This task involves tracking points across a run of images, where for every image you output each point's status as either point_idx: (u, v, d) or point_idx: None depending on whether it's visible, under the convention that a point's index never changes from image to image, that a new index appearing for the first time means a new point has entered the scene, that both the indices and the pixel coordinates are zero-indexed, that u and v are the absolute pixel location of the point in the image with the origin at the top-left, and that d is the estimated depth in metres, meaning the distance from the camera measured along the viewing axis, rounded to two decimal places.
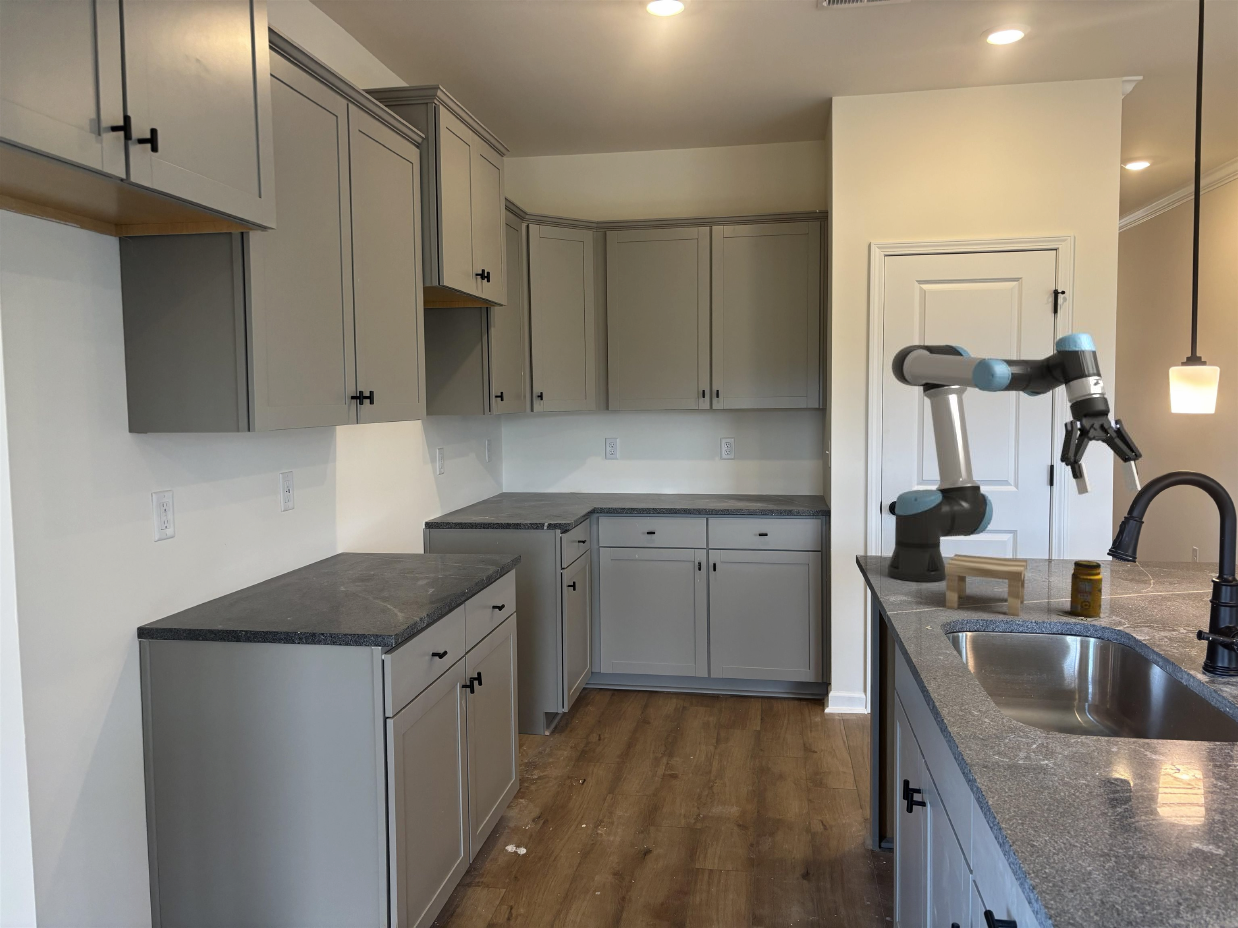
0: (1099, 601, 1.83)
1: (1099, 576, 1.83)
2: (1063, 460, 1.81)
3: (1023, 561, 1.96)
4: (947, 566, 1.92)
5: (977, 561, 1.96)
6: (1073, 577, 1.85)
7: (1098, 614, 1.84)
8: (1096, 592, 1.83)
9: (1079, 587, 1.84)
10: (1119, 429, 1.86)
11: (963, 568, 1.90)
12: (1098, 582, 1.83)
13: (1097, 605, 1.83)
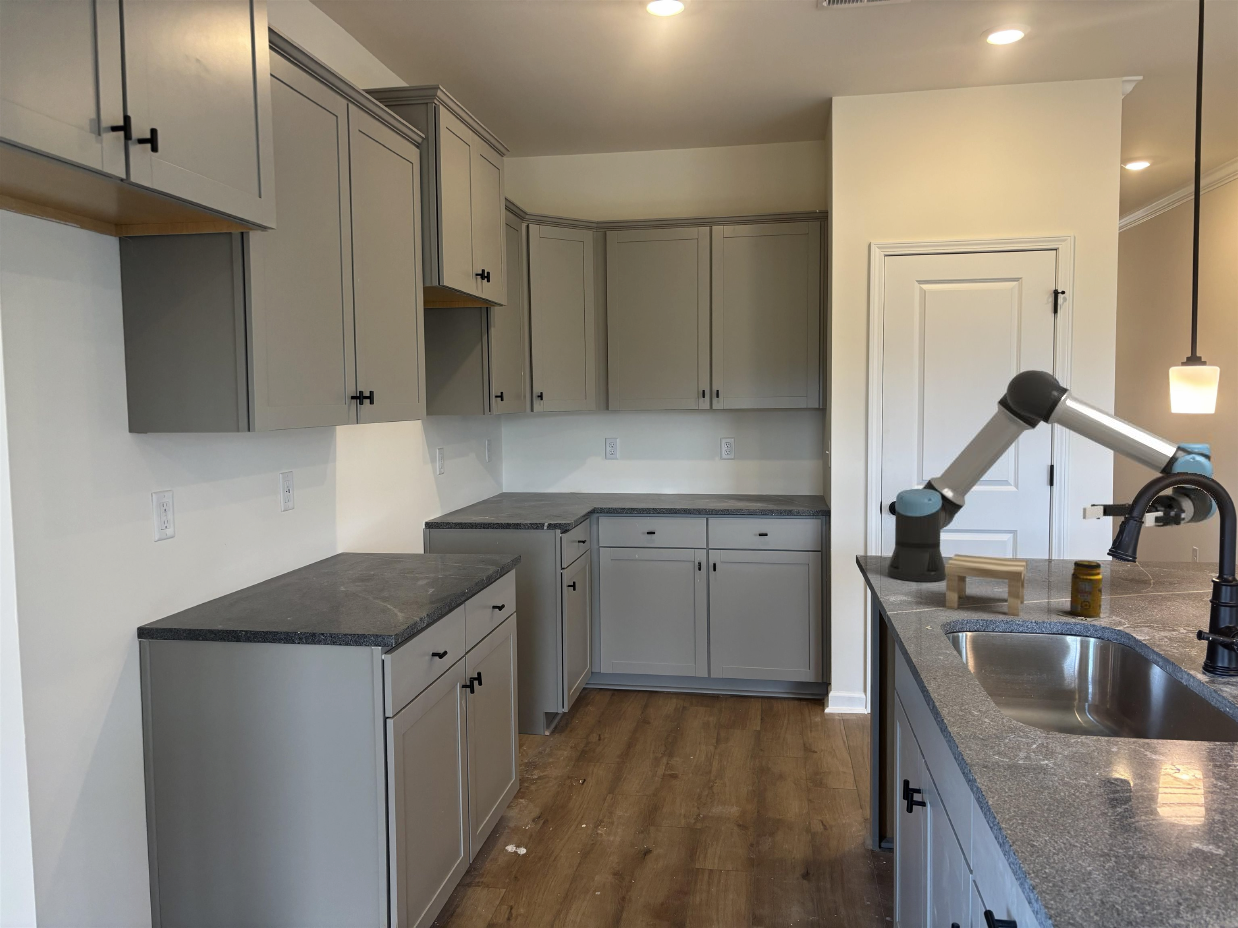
0: (1099, 601, 1.83)
1: (1099, 576, 1.83)
2: (1179, 517, 1.83)
3: (1023, 561, 1.96)
4: (947, 566, 1.92)
5: (977, 561, 1.96)
6: (1073, 577, 1.85)
7: (1098, 614, 1.84)
8: (1096, 592, 1.83)
9: (1079, 587, 1.84)
10: None
11: (963, 568, 1.90)
12: (1098, 582, 1.83)
13: (1097, 605, 1.83)
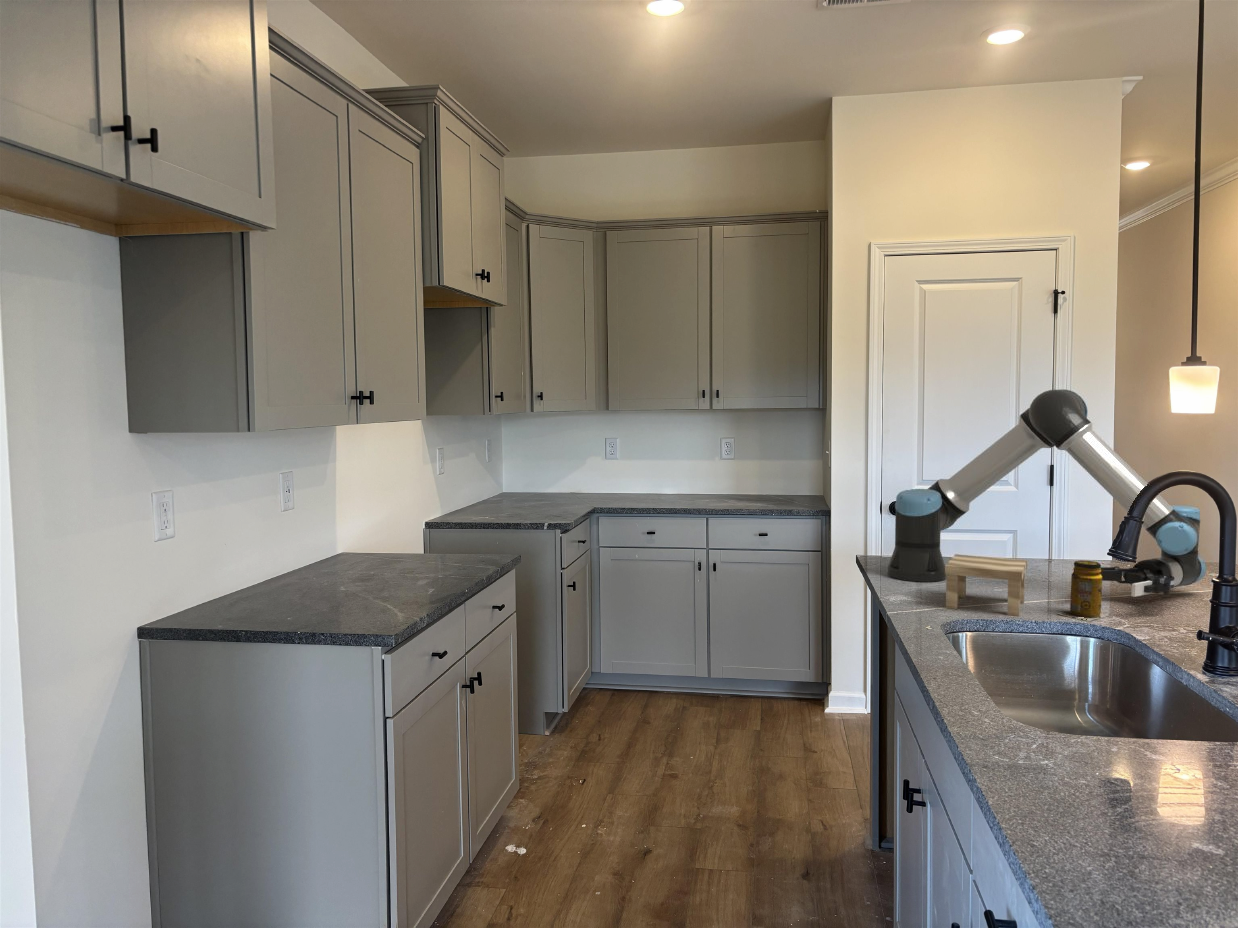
0: (1099, 601, 1.83)
1: (1099, 576, 1.83)
2: (1168, 587, 1.82)
3: (1023, 561, 1.96)
4: (947, 566, 1.92)
5: (977, 561, 1.96)
6: (1073, 577, 1.85)
7: (1098, 614, 1.84)
8: (1096, 592, 1.83)
9: (1079, 587, 1.84)
10: None
11: (963, 568, 1.90)
12: (1098, 582, 1.83)
13: (1097, 605, 1.83)
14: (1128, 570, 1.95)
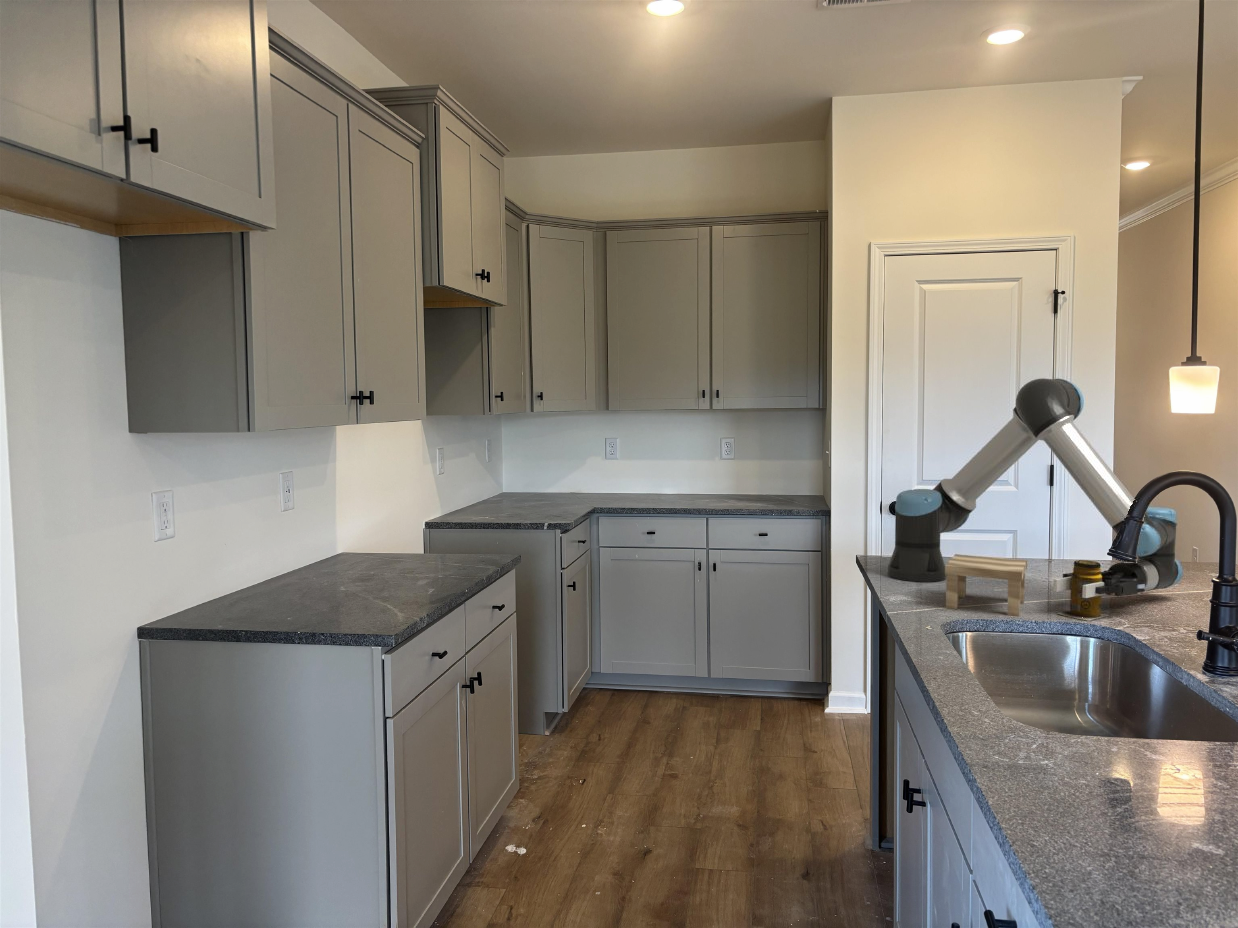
0: (1099, 601, 1.83)
1: (1099, 576, 1.83)
2: (1118, 588, 1.80)
3: (1023, 561, 1.96)
4: (947, 566, 1.92)
5: (977, 561, 1.96)
6: (1073, 577, 1.85)
7: (1098, 614, 1.84)
8: None
9: (1079, 587, 1.84)
10: None
11: (963, 568, 1.90)
12: None
13: (1097, 605, 1.83)
14: (1105, 574, 1.91)
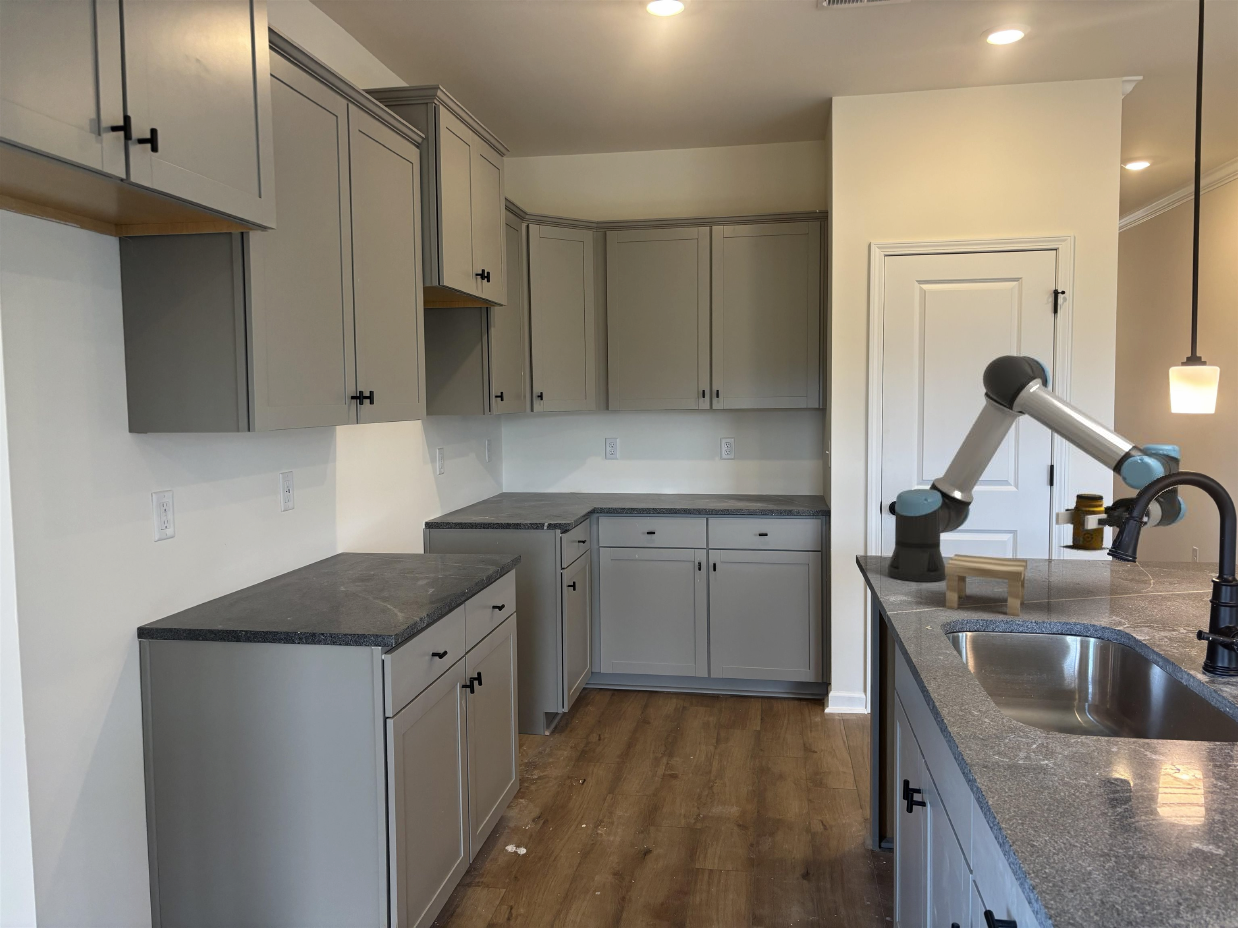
0: (1101, 533, 1.82)
1: (1101, 508, 1.82)
2: (1121, 520, 1.79)
3: (1023, 561, 1.96)
4: (947, 566, 1.92)
5: (977, 561, 1.96)
6: (1075, 510, 1.84)
7: (1100, 546, 1.82)
8: None
9: (1081, 520, 1.83)
10: None
11: (963, 568, 1.90)
12: None
13: (1099, 537, 1.82)
14: (1107, 508, 1.89)
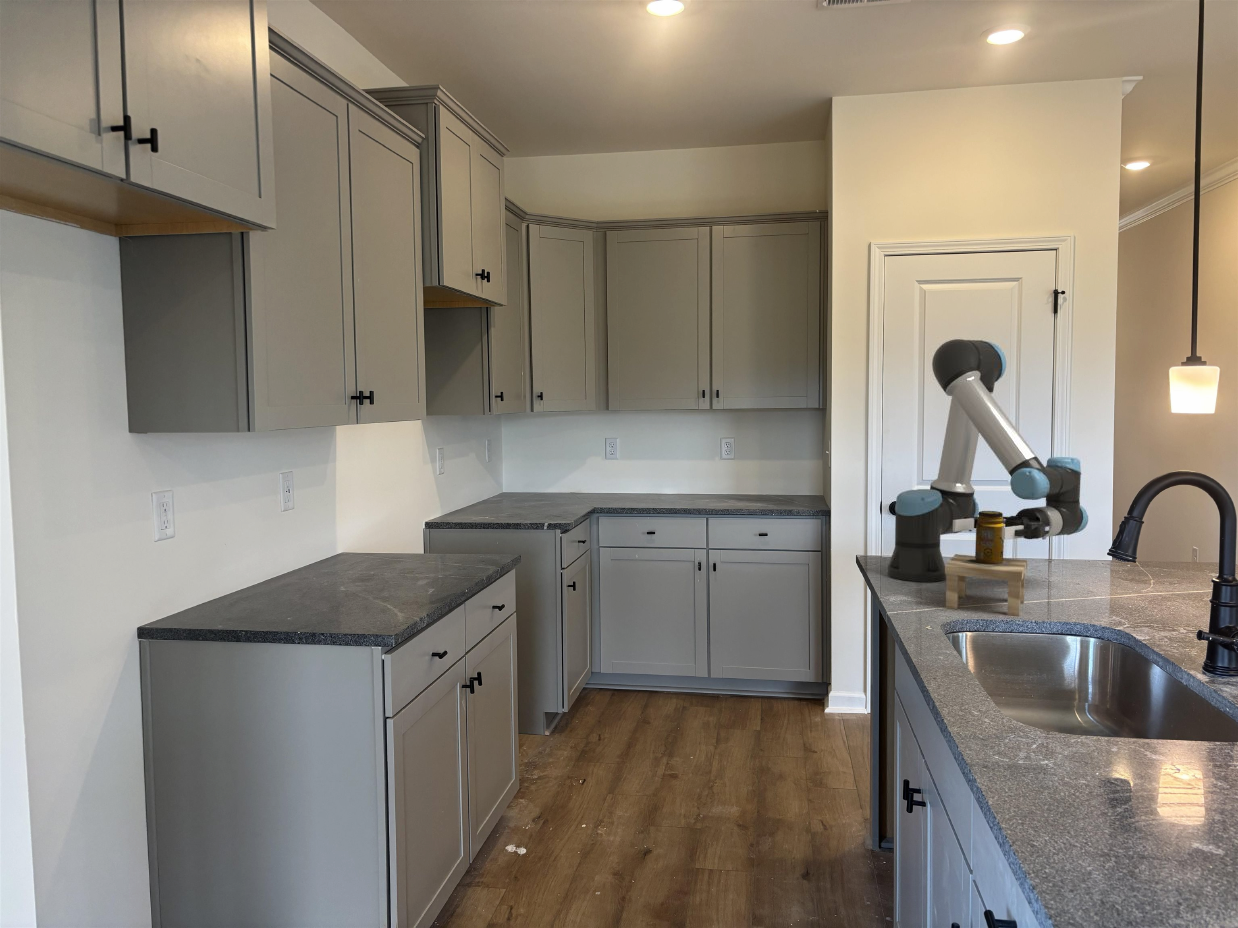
0: (1001, 548, 1.92)
1: (1000, 524, 1.92)
2: (1038, 531, 1.87)
3: (1023, 561, 1.96)
4: (947, 566, 1.92)
5: None
6: (977, 526, 1.95)
7: (1000, 561, 1.93)
8: (998, 540, 1.92)
9: (982, 535, 1.93)
10: None
11: (963, 568, 1.90)
12: (1000, 530, 1.92)
13: (998, 552, 1.92)
14: (1008, 518, 2.00)
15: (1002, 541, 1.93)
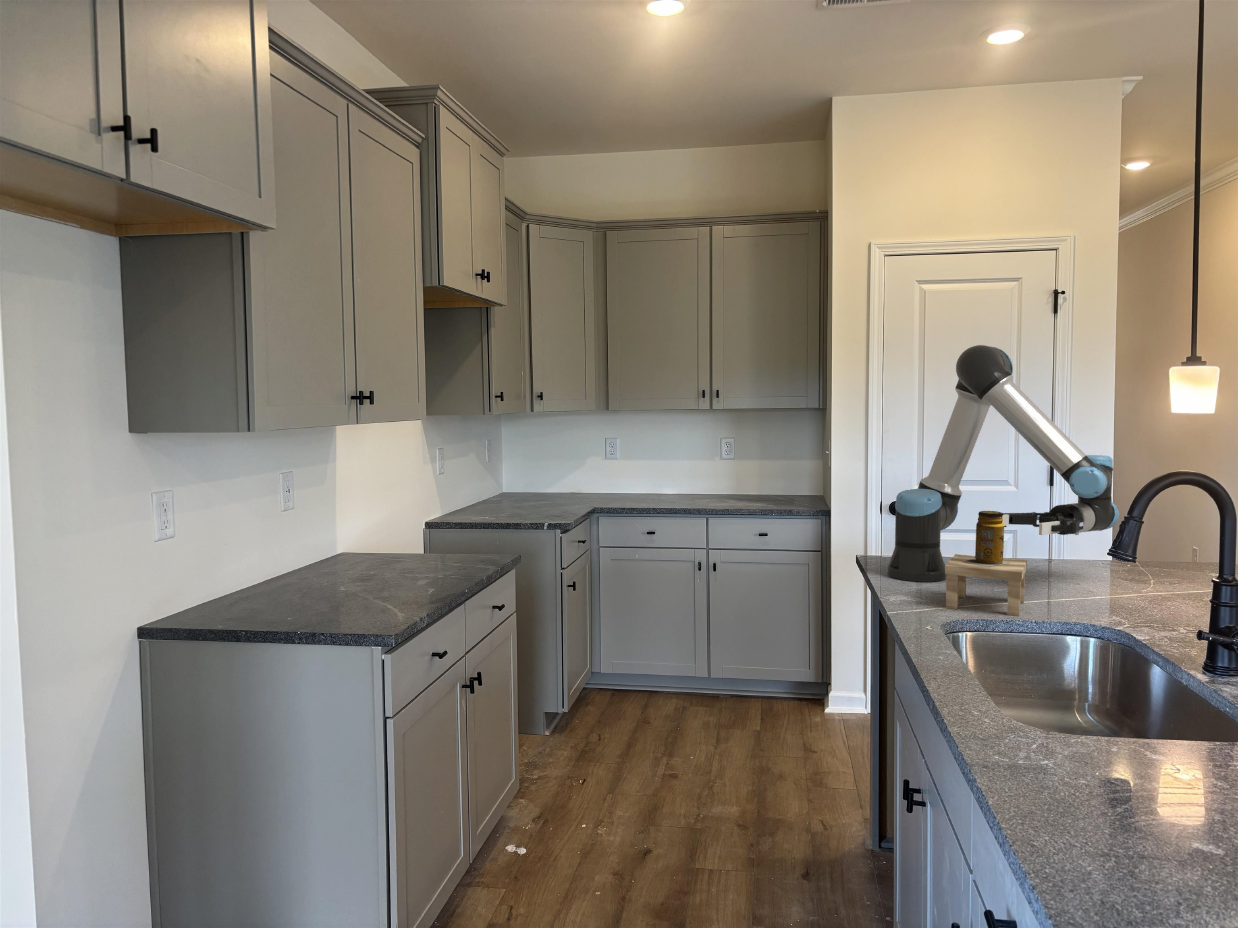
0: (1001, 548, 1.92)
1: (1000, 524, 1.92)
2: (1074, 526, 1.93)
3: (1023, 561, 1.96)
4: (947, 566, 1.92)
5: None
6: (977, 526, 1.95)
7: (1000, 561, 1.93)
8: (998, 540, 1.92)
9: (982, 535, 1.93)
10: None
11: (963, 568, 1.90)
12: (1000, 530, 1.92)
13: (998, 552, 1.92)
14: (1042, 514, 2.06)
15: (1002, 541, 1.93)
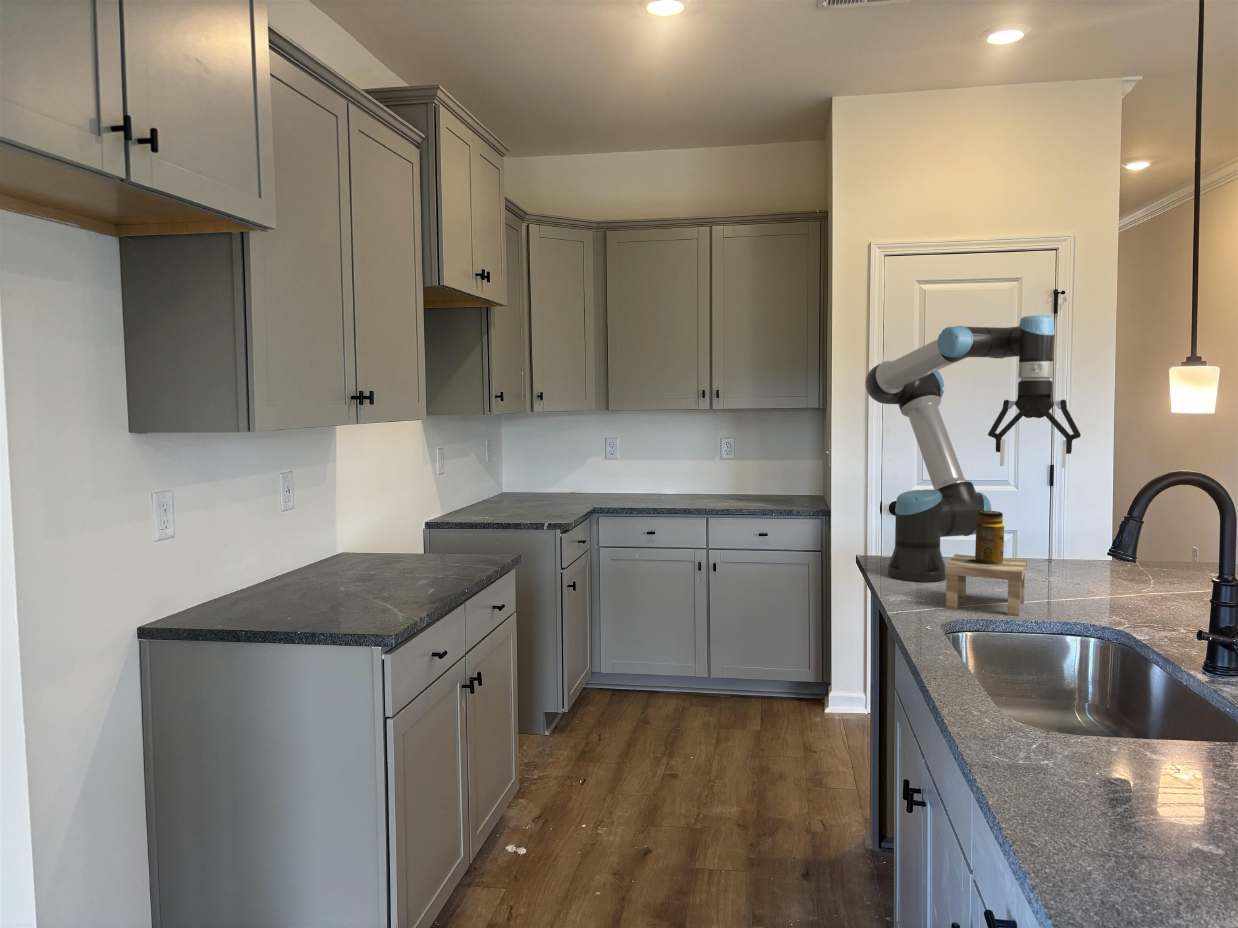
0: (1001, 548, 1.92)
1: (1000, 524, 1.92)
2: None
3: (1023, 561, 1.96)
4: (947, 566, 1.92)
5: None
6: (977, 526, 1.95)
7: (1000, 561, 1.93)
8: (998, 540, 1.92)
9: (982, 535, 1.93)
10: (1061, 409, 1.99)
11: (963, 568, 1.90)
12: (1000, 530, 1.92)
13: (998, 552, 1.92)
14: None
15: (1002, 541, 1.93)
